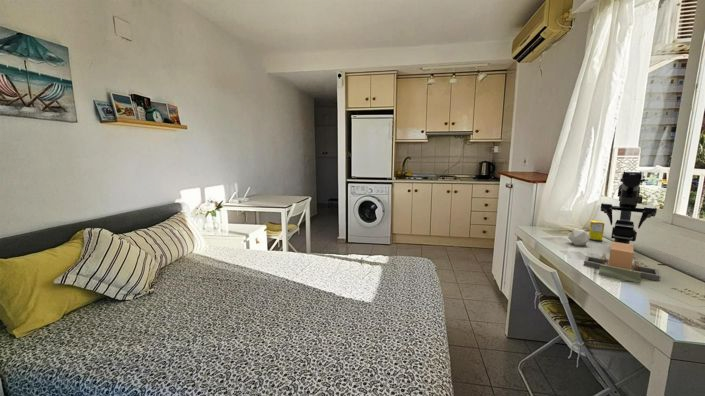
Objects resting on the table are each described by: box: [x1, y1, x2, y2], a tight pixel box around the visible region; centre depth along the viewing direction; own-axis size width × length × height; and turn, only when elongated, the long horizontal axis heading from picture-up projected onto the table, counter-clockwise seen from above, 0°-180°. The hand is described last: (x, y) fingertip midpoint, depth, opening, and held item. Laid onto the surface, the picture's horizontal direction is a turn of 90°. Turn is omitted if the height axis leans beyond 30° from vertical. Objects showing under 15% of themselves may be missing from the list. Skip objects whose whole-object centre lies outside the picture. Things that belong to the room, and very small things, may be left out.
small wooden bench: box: [598, 252, 642, 284], centre depth 123 cm, size 27×12×4 cm, turn 136°
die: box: [567, 229, 590, 246], centre depth 156 cm, size 8×9×10 cm
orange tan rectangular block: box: [608, 241, 634, 270], centre depth 125 cm, size 15×7×9 cm, turn 136°
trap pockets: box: [583, 255, 661, 282], centre depth 122 cm, size 9×23×2 cm, turn 46°
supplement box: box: [588, 219, 605, 243], centre depth 164 cm, size 6×6×11 cm
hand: (624, 226), depth 132 cm, fingers open, 9 cm apart
